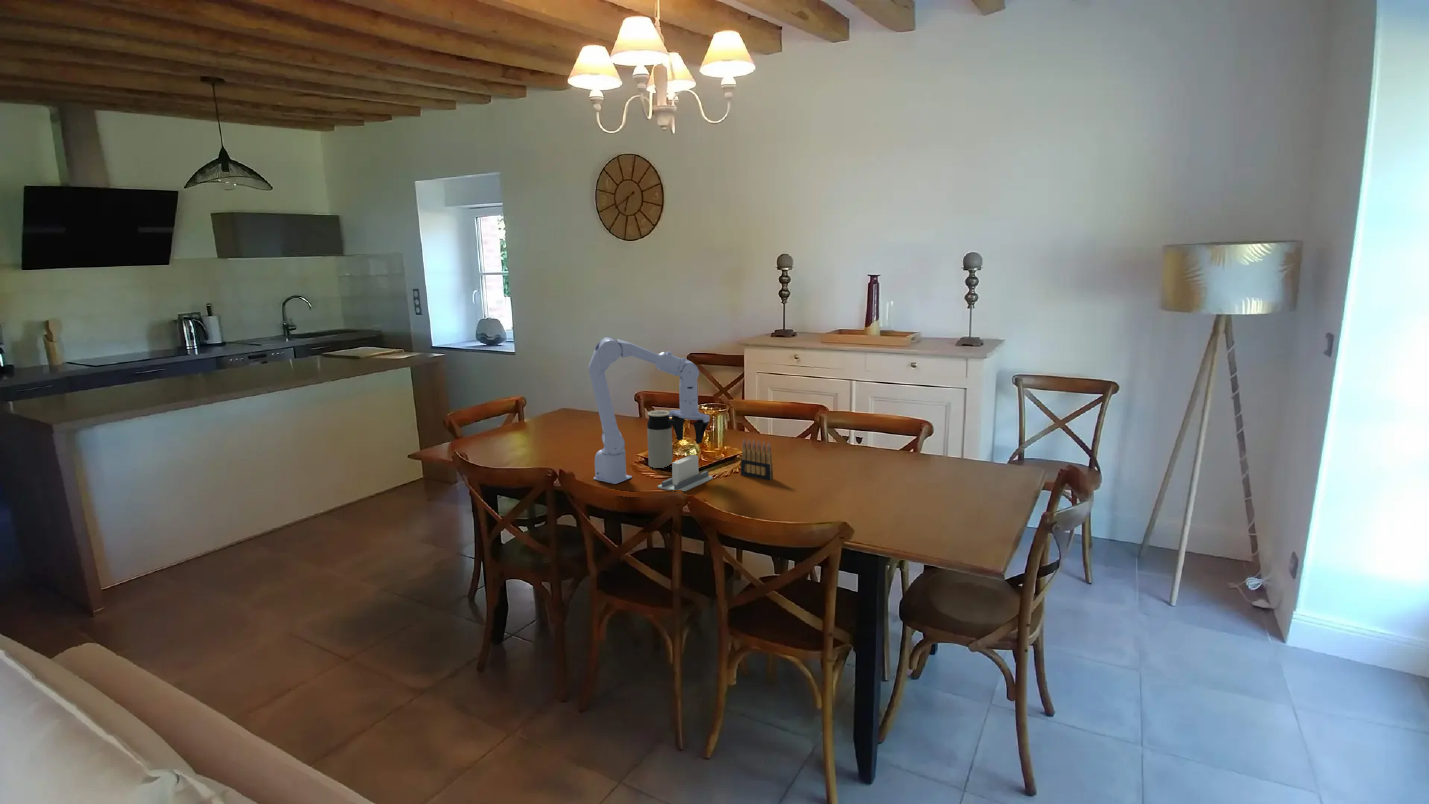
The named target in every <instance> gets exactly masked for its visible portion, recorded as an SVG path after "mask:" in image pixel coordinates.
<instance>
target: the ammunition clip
mask: <svg viewBox="0 0 1429 804" xmlns="http://www.w3.org/2000/svg"><path fill="white" fill-rule="evenodd" d="M756 443H757V444H756ZM761 445H762V446H761ZM741 449H742V450H741V461H740V476H743V475H744V477H749V478H750V477H751V478H753V479H754V478H755V479H760V480H765V481H772V480H773V478H774V474H773V471H774V470H773V462H772V447H771V443H770V441H768V442H767V445H766V443H765V440H763V441H762V444H761V441H760V440H757V442H756V441H755V439H752V443H751V439H750V438H748V440H746V438H745V437H743V440H742V447H741Z"/></svg>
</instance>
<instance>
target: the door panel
mask: <svg viewBox="0 0 1429 804" xmlns="http://www.w3.org/2000/svg"><path fill="white" fill-rule="evenodd" d="M671 468H672V469H671V473H672V474H671V475H672V476H671V478H672V482H673V485H675V484H677V483H679V482H682V481H684V480H686V479H688V478H691V477H693V476H695V475H698V474H700V471H699V455H695V454H690V455H688V456H685V457H683V458H680V459H678V460H677V459H676V460H675V461H673V462H672V466H671Z"/></svg>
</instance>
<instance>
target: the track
mask: <svg viewBox="0 0 1429 804" xmlns="http://www.w3.org/2000/svg"><path fill="white" fill-rule="evenodd" d="M713 479H714V477H713V476H711V475H709V470H704V471H702V472H699V474H698V475H695V476H693V477H691V478H688V479H686V480H684V481H682V482H679V483H677V484H675V485H673V482H672V477H670V478H667V479H666V480H663V481H661V484H659V485H658V484H657V489H662V490H664V491H665V490H666V491H670V490H682V491H685V492H686V491H689V490H691V489H693V488H695V487H698V486H700V485H703V484H705V483H706V482H709V481H710V480H713Z"/></svg>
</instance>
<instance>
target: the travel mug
mask: <svg viewBox="0 0 1429 804" xmlns="http://www.w3.org/2000/svg"><path fill="white" fill-rule="evenodd" d="M669 411H670V410H665V409H664V410H661V409H659V410H658V409H657V410H650V411H648V412H647V416H648V420H647V424H646V427H647V453H648V455H647V457H648V466H649V467H650V468H652V467H653V468H652V469H656V468H663V469H665V468H664V467H667V466H669V465H670V464H671V463H672V460H673V455H674V454H673V430H672V429H673V426H672V424H671V423H670V419H671V417H669Z"/></svg>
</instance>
